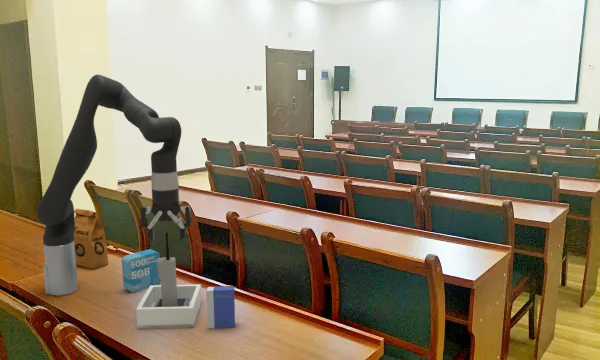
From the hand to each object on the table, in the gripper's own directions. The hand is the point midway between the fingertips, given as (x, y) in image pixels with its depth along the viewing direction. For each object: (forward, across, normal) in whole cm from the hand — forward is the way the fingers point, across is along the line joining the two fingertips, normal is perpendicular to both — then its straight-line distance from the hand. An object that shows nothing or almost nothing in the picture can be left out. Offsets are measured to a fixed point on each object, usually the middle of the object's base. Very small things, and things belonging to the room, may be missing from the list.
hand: (167, 240), depth 145 cm
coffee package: (+24, -39, +44) cm, 64 cm away
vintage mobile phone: (+23, -1, 0) cm, 23 cm away
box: (+24, 0, 0) cm, 24 cm away
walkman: (+24, +16, -8) cm, 30 cm away
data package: (+24, -14, +22) cm, 36 cm away
